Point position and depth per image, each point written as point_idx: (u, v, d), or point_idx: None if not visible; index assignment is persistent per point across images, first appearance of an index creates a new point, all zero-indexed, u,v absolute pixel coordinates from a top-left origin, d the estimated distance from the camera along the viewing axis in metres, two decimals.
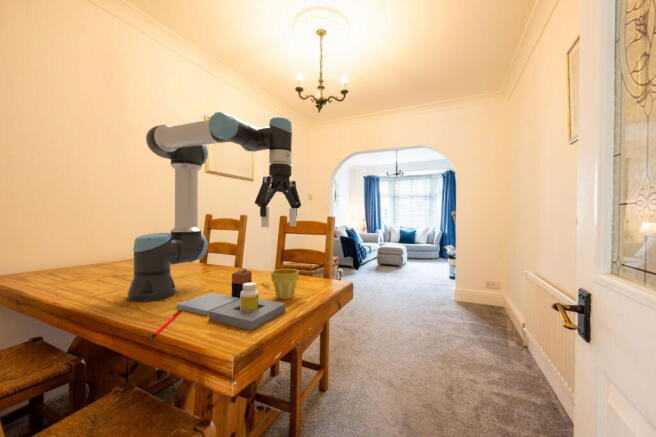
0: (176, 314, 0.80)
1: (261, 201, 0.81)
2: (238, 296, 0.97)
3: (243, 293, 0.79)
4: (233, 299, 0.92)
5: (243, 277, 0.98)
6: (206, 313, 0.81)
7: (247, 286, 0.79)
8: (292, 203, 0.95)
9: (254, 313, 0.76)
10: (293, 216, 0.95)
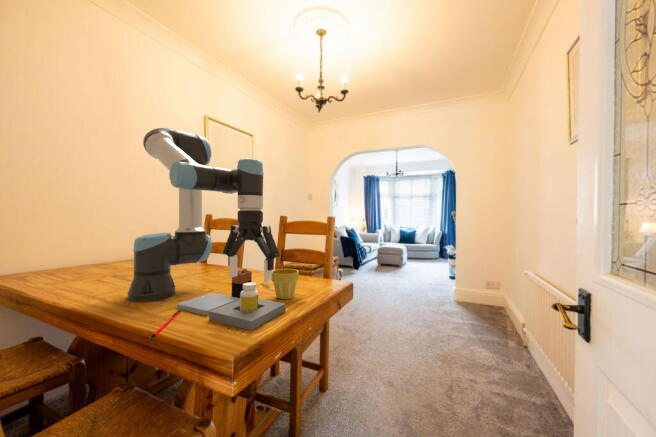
0: (175, 314, 0.80)
1: (223, 251, 0.84)
2: (238, 296, 0.97)
3: (243, 293, 0.79)
4: (233, 299, 0.92)
5: (243, 277, 0.98)
6: (206, 313, 0.81)
7: (247, 286, 0.79)
8: None
9: (254, 313, 0.76)
10: None
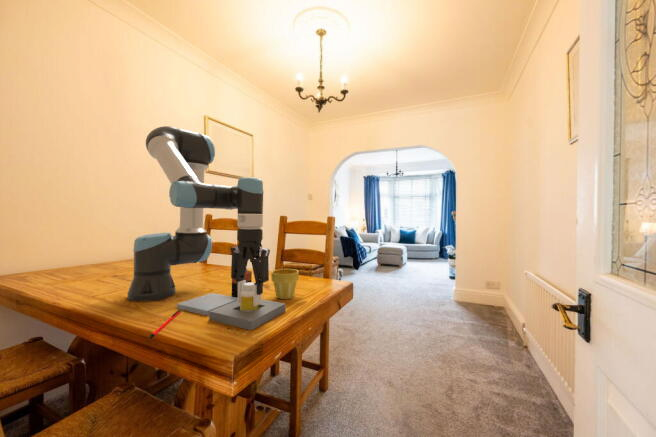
0: (175, 314, 0.80)
1: (231, 276, 0.83)
2: None
3: (243, 293, 0.79)
4: (233, 299, 0.92)
5: None
6: (206, 313, 0.81)
7: (247, 286, 0.79)
8: None
9: (254, 313, 0.76)
10: None
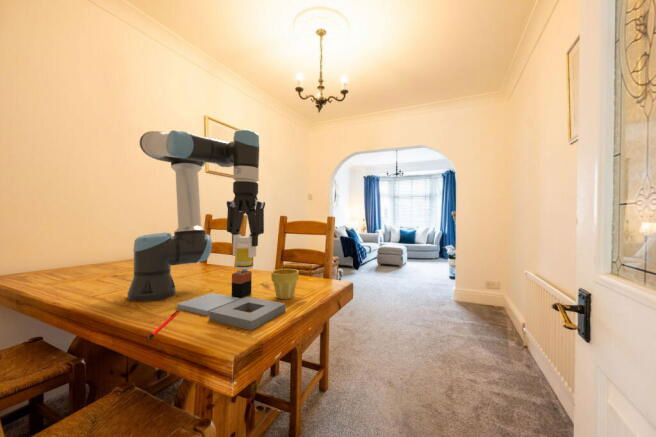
0: (174, 314, 0.80)
1: (227, 229, 0.84)
2: (238, 296, 0.97)
3: (238, 245, 0.80)
4: (233, 299, 0.92)
5: (243, 277, 0.98)
6: (206, 313, 0.81)
7: (242, 238, 0.80)
8: None
9: (254, 313, 0.76)
10: None
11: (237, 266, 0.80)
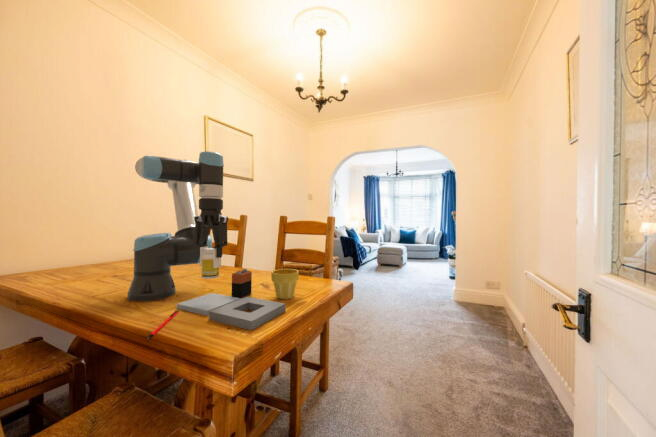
0: (173, 314, 0.80)
1: (195, 242, 0.91)
2: (238, 296, 0.97)
3: (204, 256, 0.88)
4: (233, 299, 0.92)
5: (243, 277, 0.98)
6: (206, 313, 0.81)
7: (208, 250, 0.88)
8: None
9: (254, 313, 0.76)
10: None
11: (203, 276, 0.87)
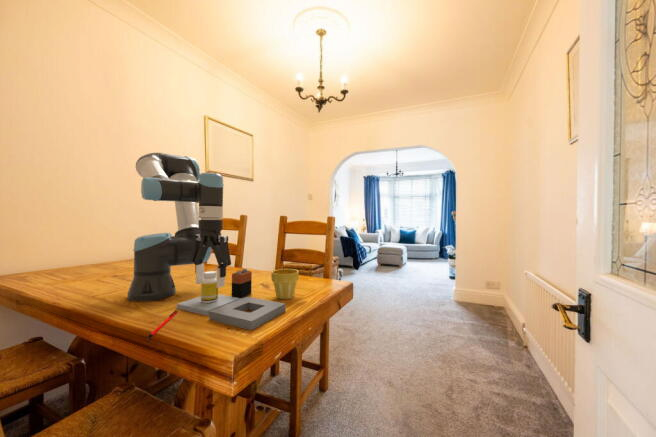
0: (172, 314, 0.80)
1: (191, 259, 0.92)
2: (238, 296, 0.97)
3: (203, 280, 0.88)
4: (233, 299, 0.92)
5: (243, 277, 0.98)
6: (206, 313, 0.81)
7: (207, 274, 0.88)
8: None
9: (254, 313, 0.76)
10: None
11: (202, 300, 0.88)
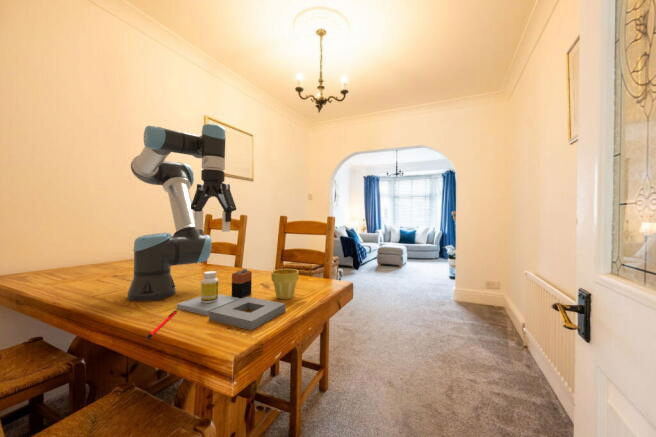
0: (171, 314, 0.79)
1: (191, 206, 0.96)
2: (238, 296, 0.97)
3: (203, 280, 0.88)
4: (233, 299, 0.92)
5: (243, 277, 0.98)
6: (206, 313, 0.81)
7: (207, 274, 0.88)
8: None
9: (254, 313, 0.76)
10: None
11: (202, 300, 0.88)
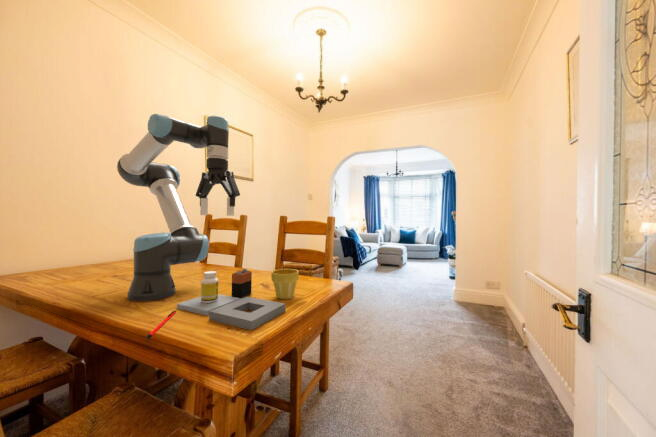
0: (170, 314, 0.79)
1: (196, 194, 1.02)
2: (238, 296, 0.97)
3: (203, 280, 0.88)
4: (233, 299, 0.92)
5: (243, 277, 0.98)
6: (206, 313, 0.81)
7: (207, 274, 0.88)
8: None
9: (254, 313, 0.76)
10: None
11: (202, 300, 0.88)
